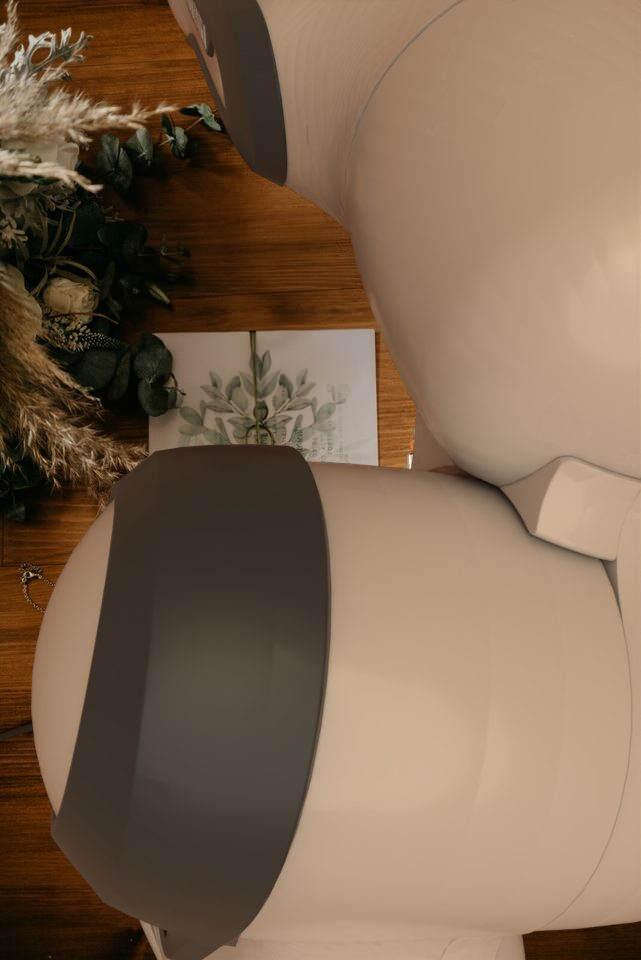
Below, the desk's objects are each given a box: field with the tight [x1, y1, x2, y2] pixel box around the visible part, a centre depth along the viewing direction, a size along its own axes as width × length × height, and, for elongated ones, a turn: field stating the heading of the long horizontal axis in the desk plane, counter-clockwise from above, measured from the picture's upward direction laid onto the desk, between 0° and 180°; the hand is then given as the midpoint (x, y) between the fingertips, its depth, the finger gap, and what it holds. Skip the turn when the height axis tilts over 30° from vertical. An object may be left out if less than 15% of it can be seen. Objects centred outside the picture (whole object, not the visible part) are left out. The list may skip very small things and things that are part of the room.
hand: (361, 59), depth 61 cm, fingers closed
